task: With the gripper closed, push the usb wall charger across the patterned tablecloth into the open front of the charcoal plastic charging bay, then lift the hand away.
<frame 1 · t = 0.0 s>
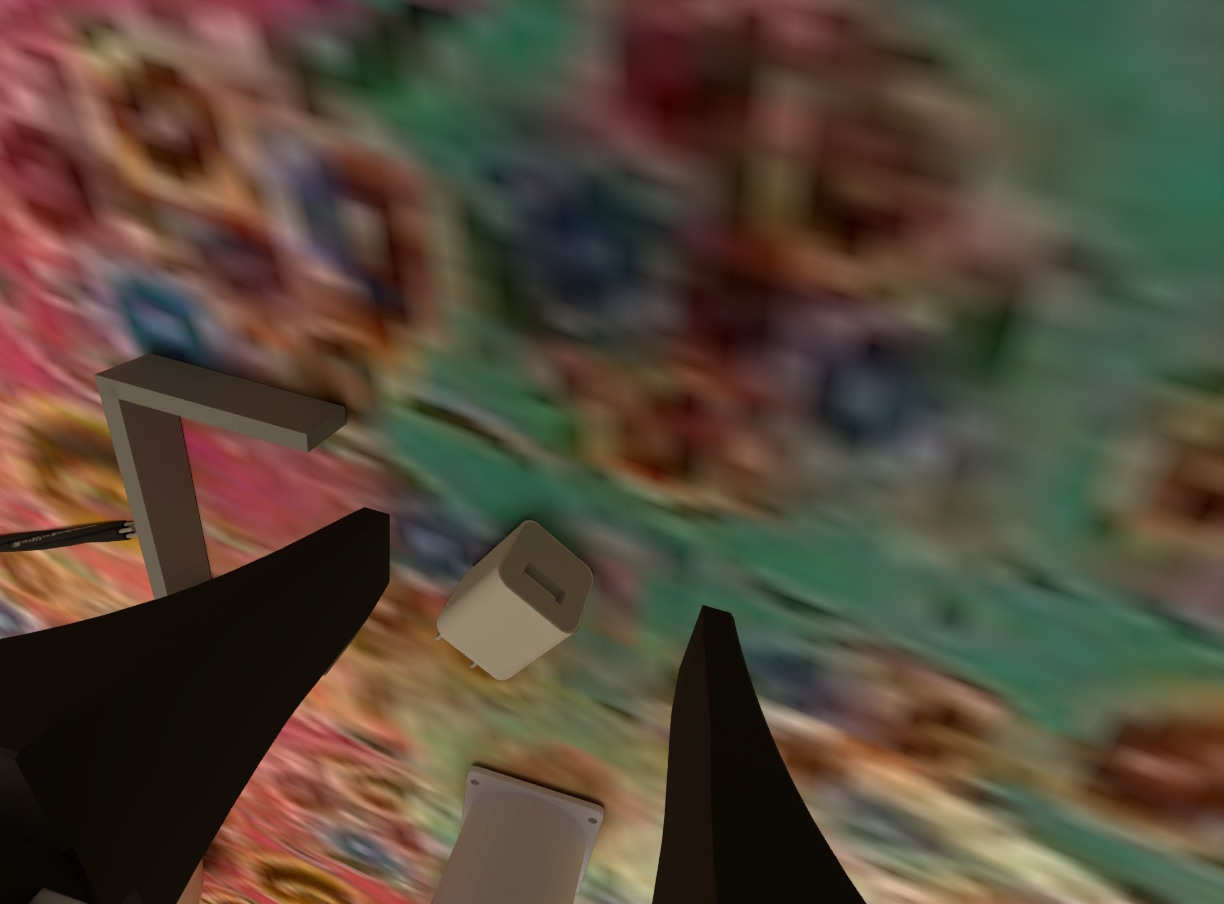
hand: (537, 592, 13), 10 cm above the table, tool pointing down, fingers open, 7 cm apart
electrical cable: (69, 530, 33), on the table
usb wall charger: (516, 580, 28), on the table
lidded bowl: (166, 829, 48), on the table
charging bay: (271, 513, 28), on the table
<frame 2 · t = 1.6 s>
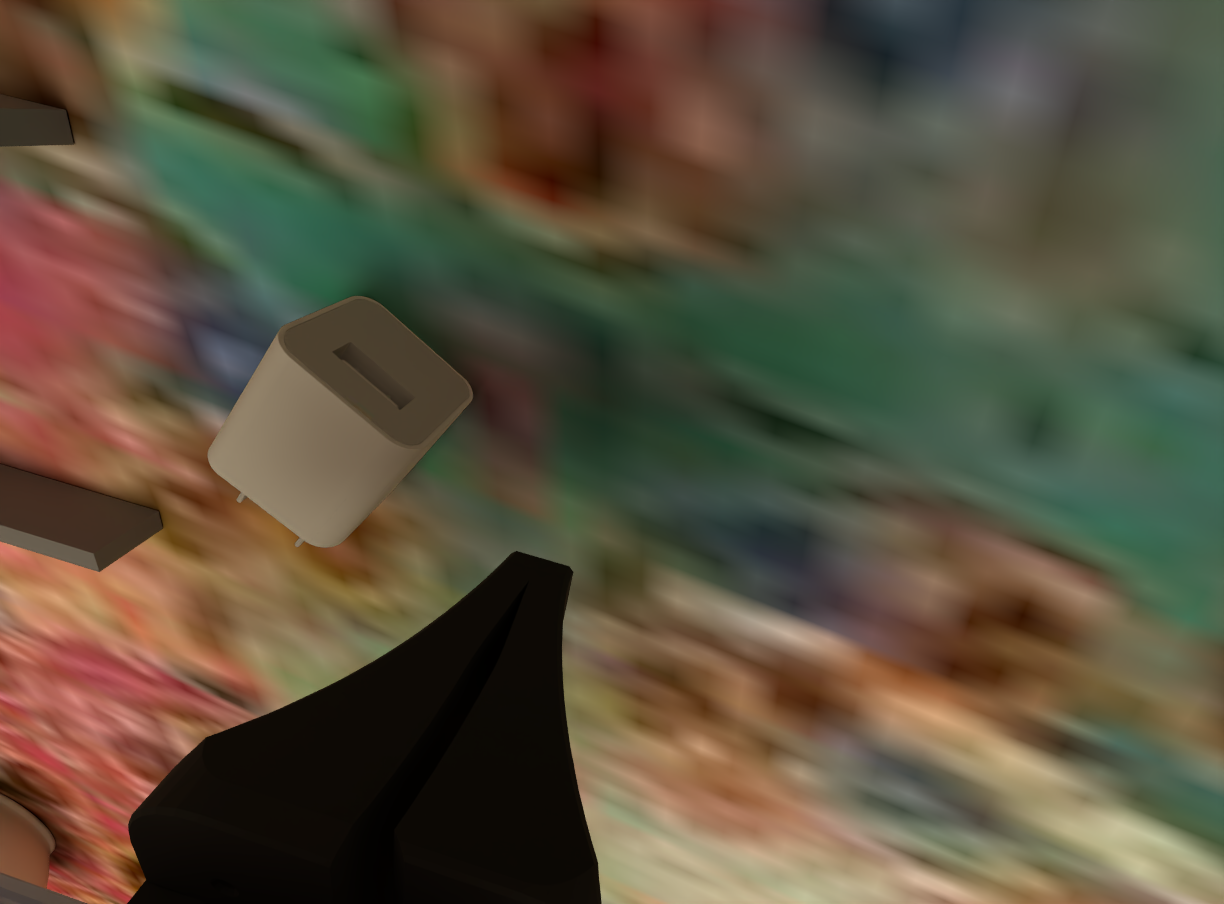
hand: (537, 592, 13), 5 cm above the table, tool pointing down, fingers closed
usb wall charger: (369, 416, 18), on the table
lidded bowl: (6, 815, 38), on the table
charging bay: (9, 325, 19), on the table
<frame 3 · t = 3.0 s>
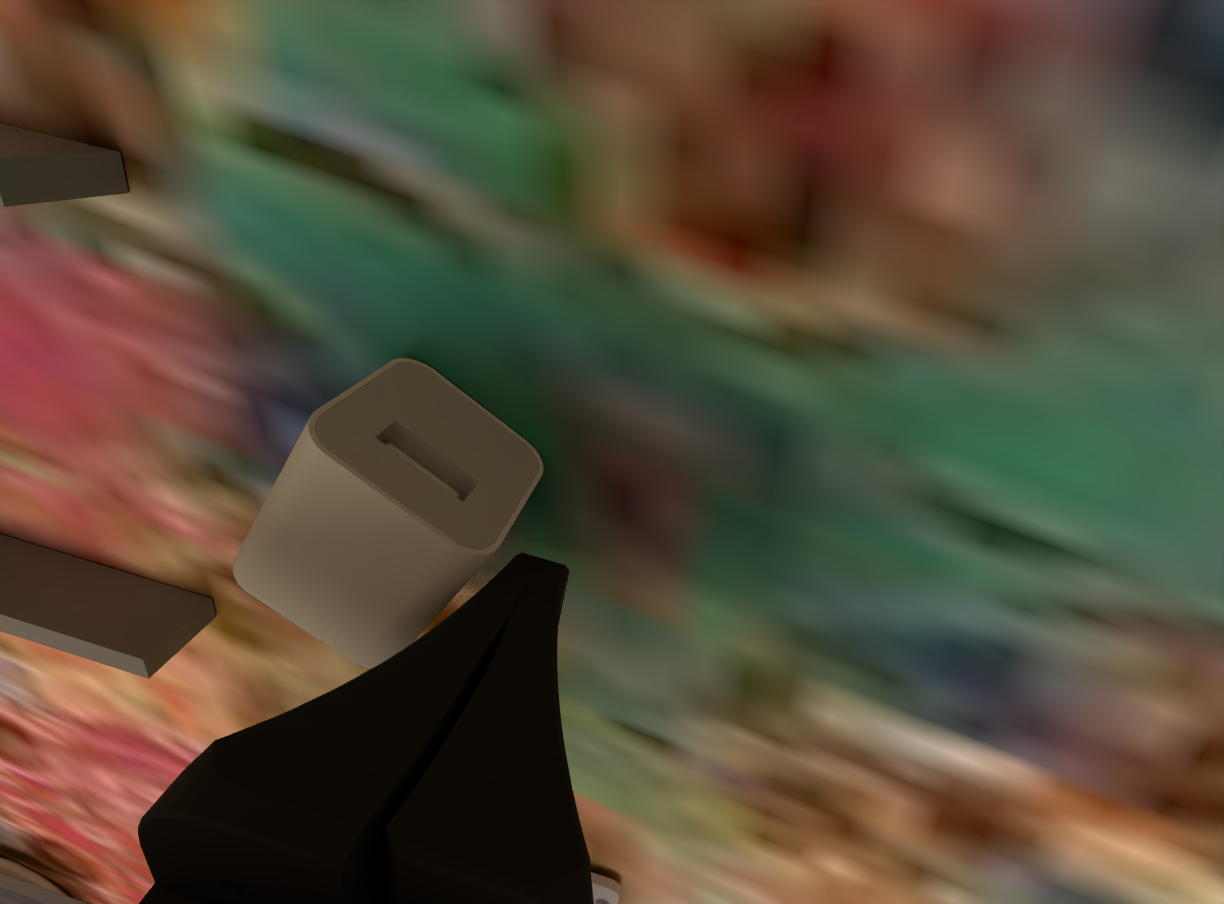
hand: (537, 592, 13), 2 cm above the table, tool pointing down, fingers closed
usb wall charger: (418, 493, 16), on the table, touching gripper
lidded bowl: (29, 884, 36), on the table
charging bay: (44, 396, 16), on the table
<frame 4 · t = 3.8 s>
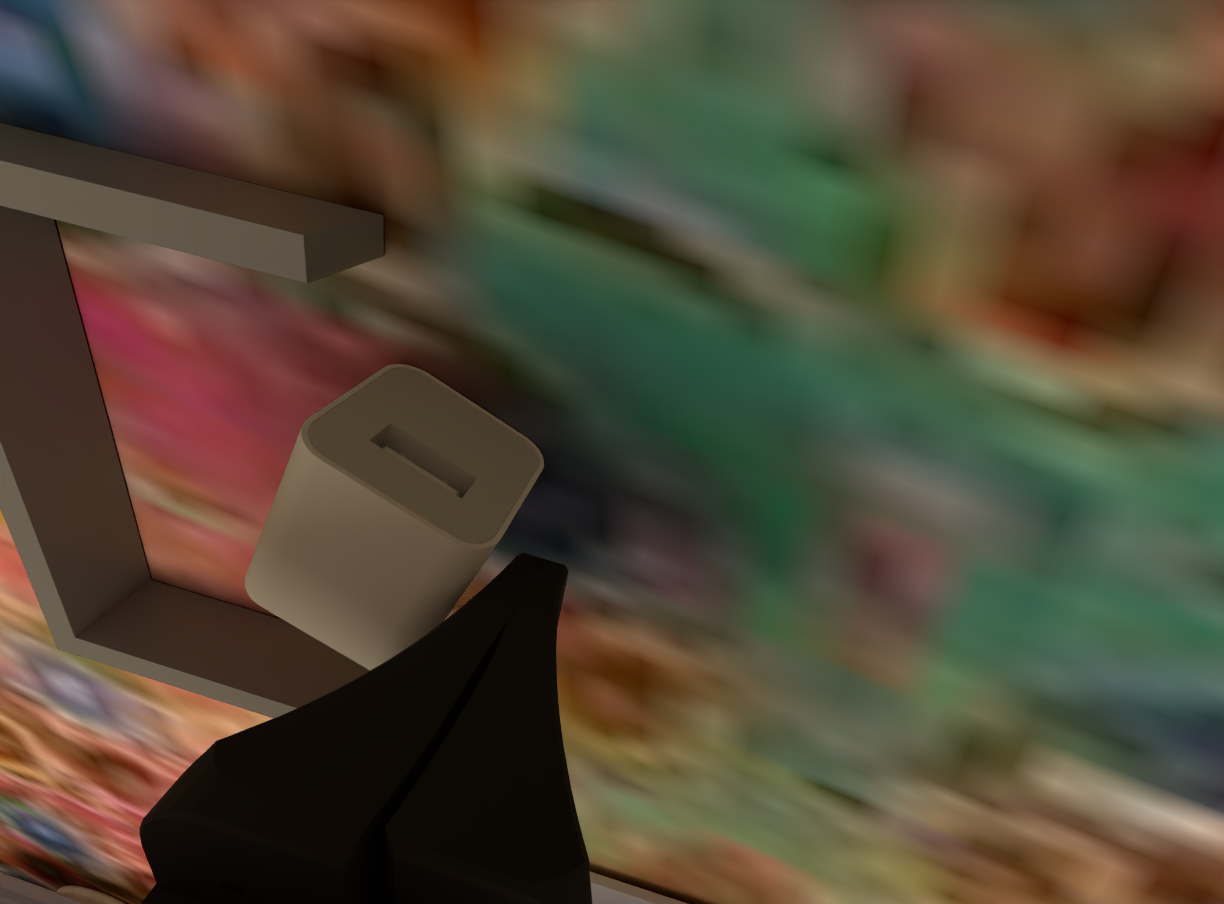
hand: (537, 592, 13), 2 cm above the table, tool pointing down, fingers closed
usb wall charger: (425, 500, 16), on the table, touching gripper
charging bay: (242, 452, 16), on the table
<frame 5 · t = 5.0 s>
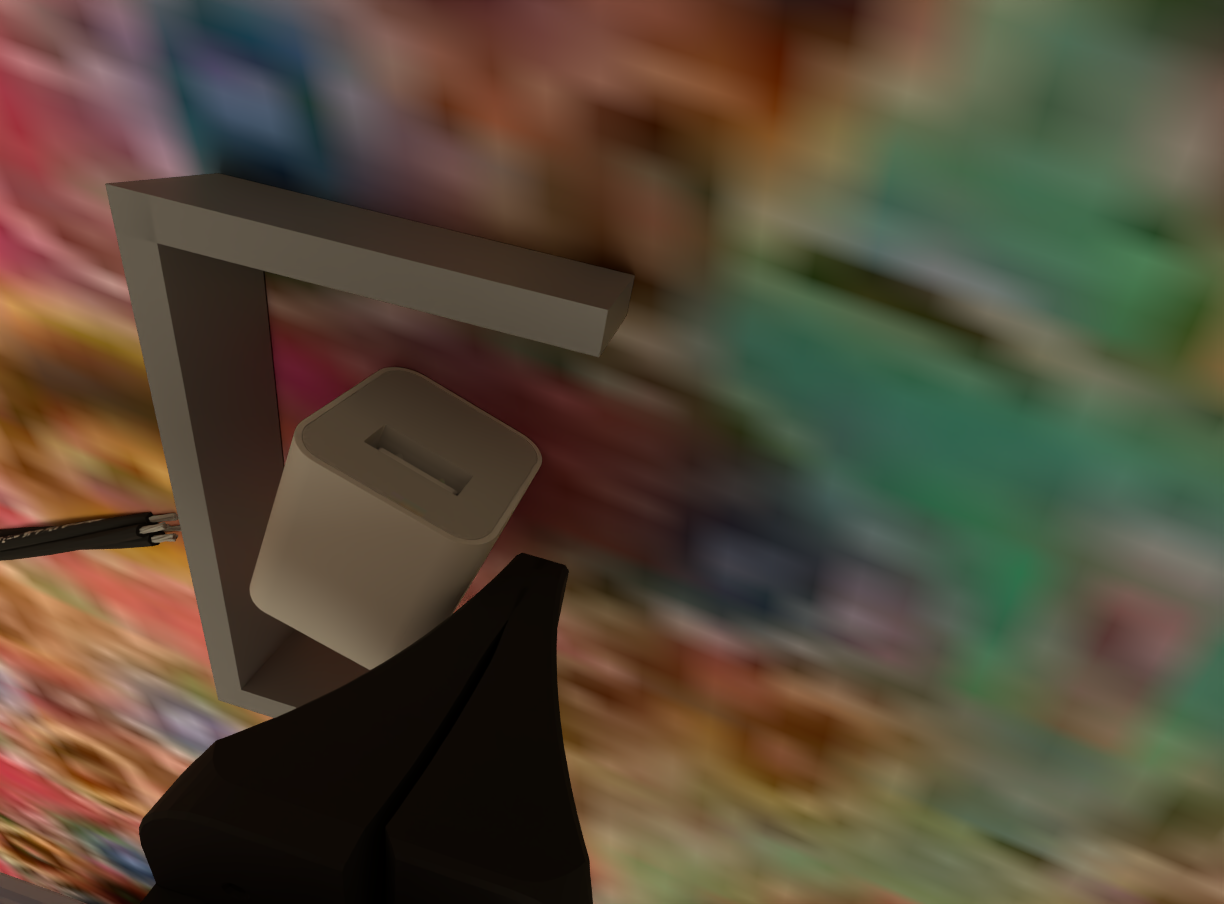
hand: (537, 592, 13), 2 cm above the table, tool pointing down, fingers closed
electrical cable: (53, 529, 20), on the table
usb wall charger: (428, 503, 16), on the table, touching gripper
charging bay: (427, 503, 15), on the table
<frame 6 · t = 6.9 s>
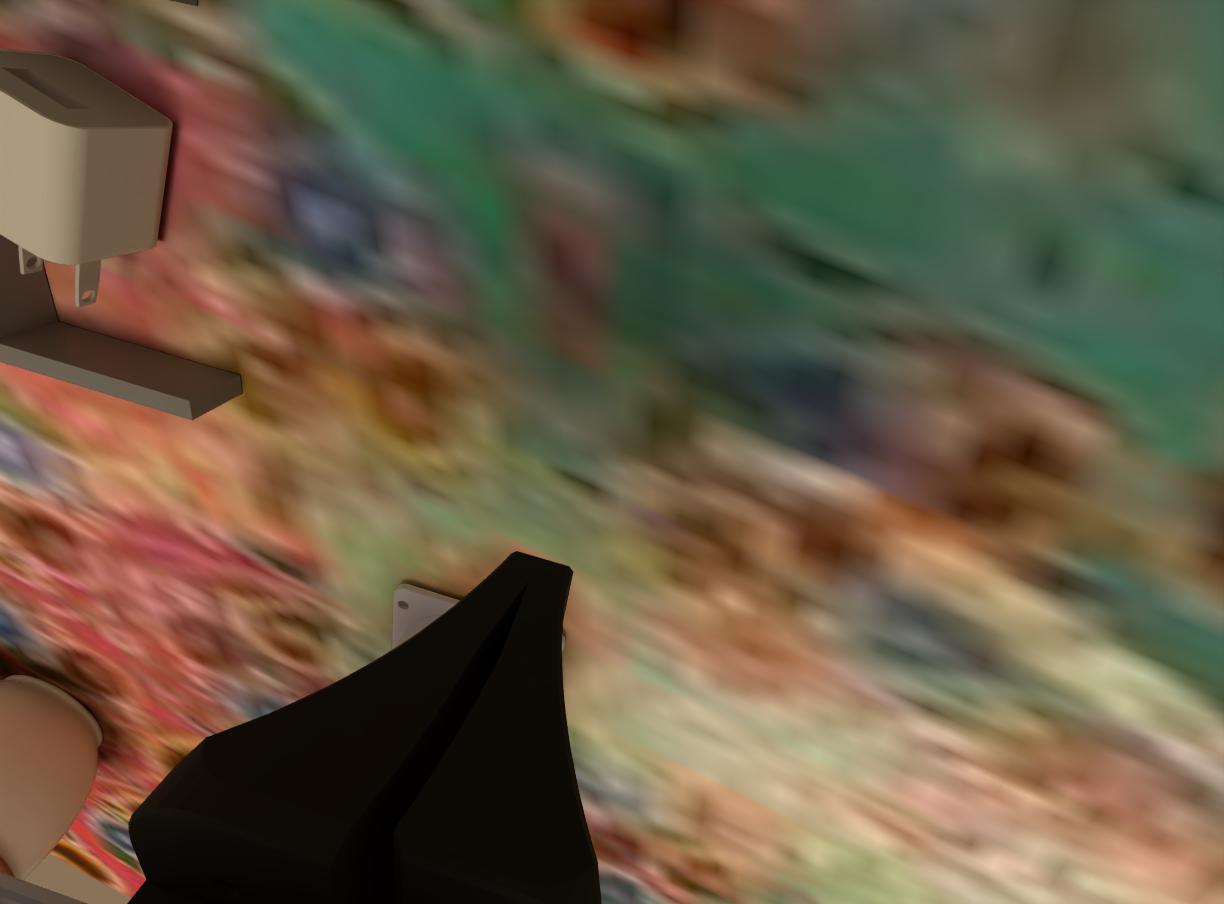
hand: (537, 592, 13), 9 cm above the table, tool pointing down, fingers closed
usb wall charger: (123, 190, 21), on the table
lidded bowl: (56, 710, 40), on the table
charging bay: (116, 188, 21), on the table
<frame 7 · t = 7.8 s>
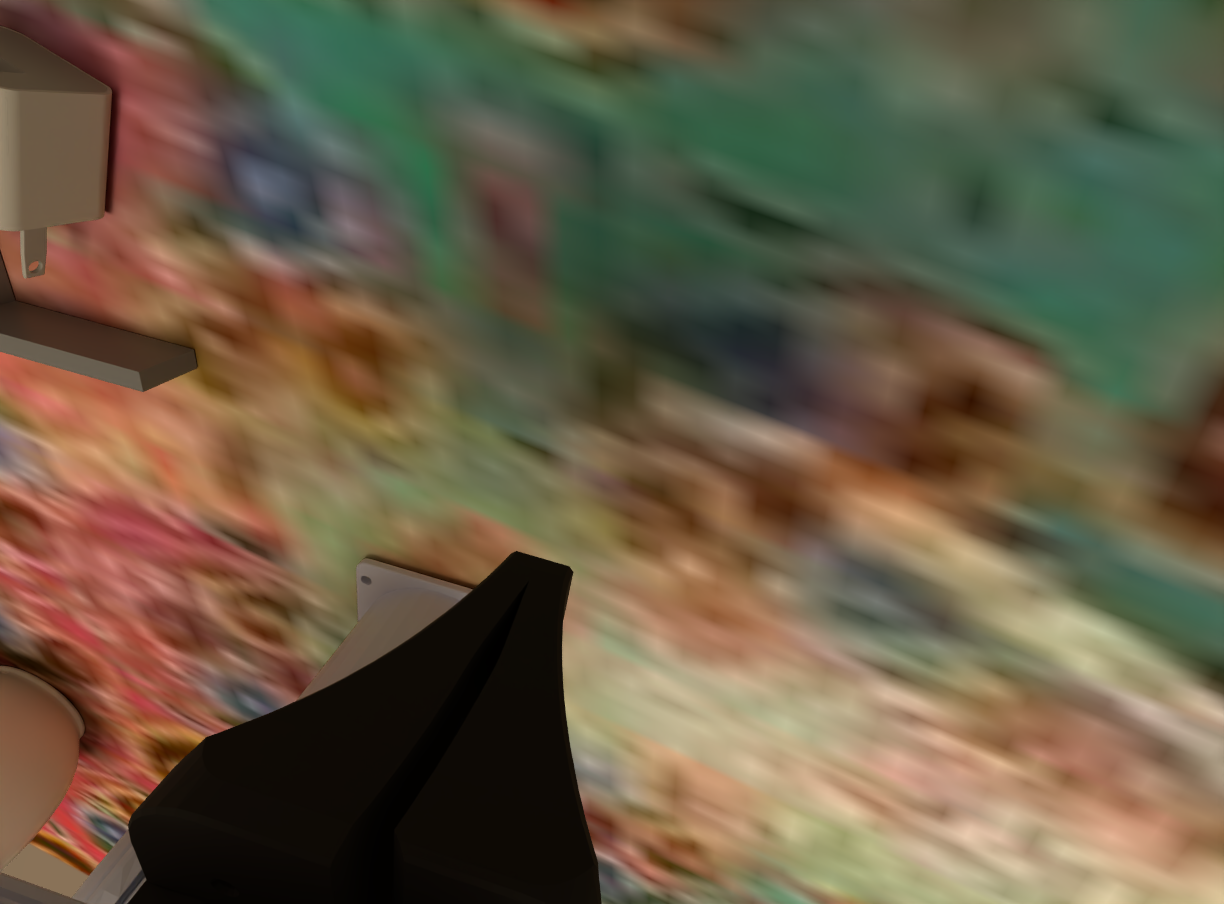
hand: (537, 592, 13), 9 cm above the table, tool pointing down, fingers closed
usb wall charger: (70, 163, 21), on the table
lidded bowl: (38, 701, 41), on the table
charging bay: (63, 162, 21), on the table
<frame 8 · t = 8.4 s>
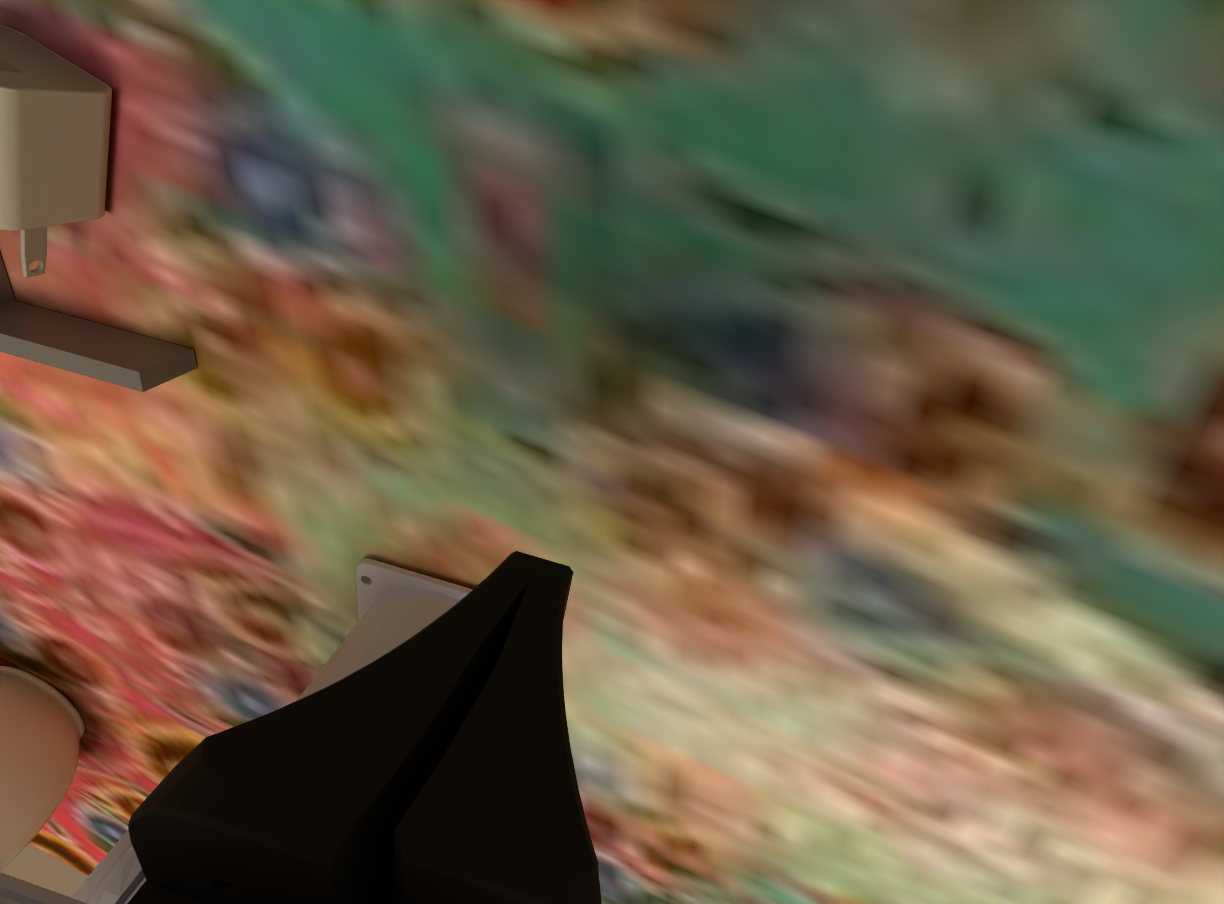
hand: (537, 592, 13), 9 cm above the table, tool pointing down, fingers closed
usb wall charger: (70, 162, 21), on the table
lidded bowl: (38, 701, 41), on the table
charging bay: (63, 162, 21), on the table
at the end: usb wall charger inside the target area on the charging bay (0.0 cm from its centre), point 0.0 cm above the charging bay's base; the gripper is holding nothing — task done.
